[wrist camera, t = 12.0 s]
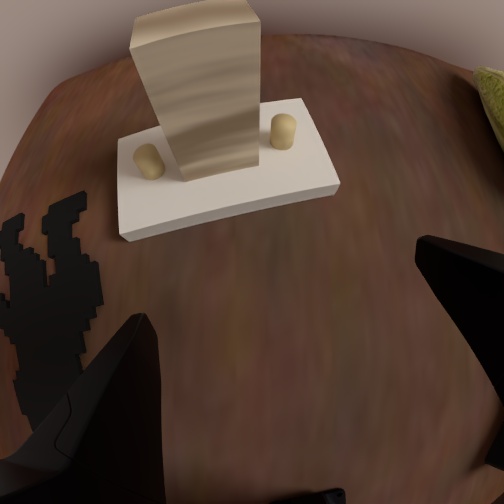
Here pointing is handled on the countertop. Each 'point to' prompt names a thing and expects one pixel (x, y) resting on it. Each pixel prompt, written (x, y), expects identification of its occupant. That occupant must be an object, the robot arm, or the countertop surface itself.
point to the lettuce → (492, 98)
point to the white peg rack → (221, 176)
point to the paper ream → (203, 82)
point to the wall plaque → (497, 451)
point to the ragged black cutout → (48, 307)
